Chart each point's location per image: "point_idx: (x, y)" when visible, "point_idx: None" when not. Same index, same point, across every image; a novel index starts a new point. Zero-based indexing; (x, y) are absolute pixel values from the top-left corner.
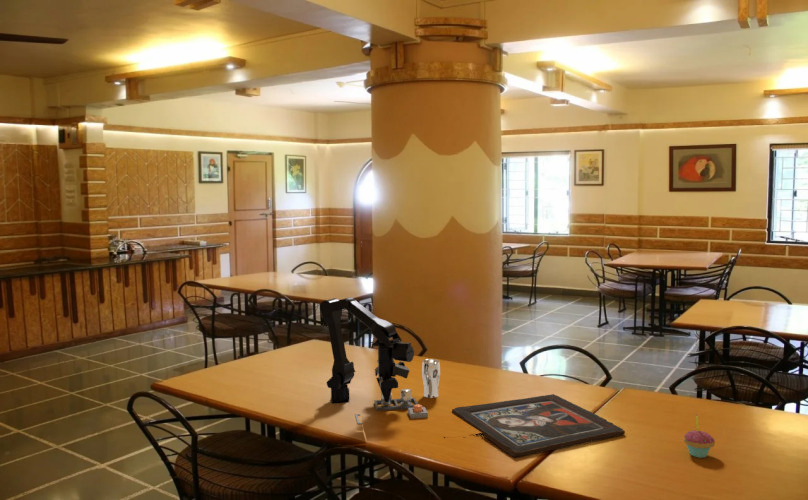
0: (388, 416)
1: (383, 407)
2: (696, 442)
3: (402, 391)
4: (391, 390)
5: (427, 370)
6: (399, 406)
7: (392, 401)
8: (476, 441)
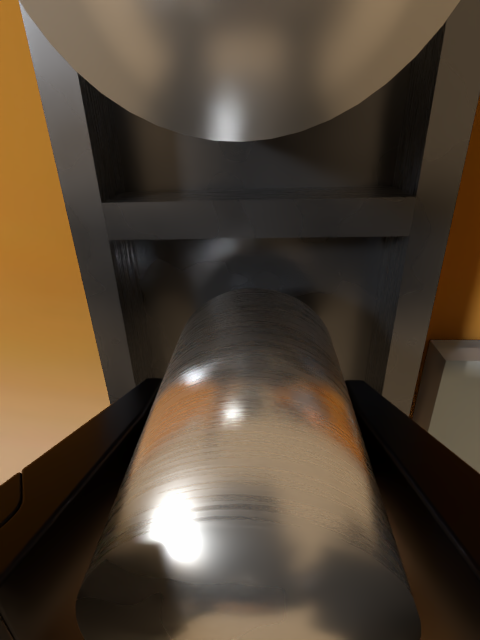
0: (467, 322)
1: (406, 414)
2: None
3: (358, 64)
4: (328, 475)
5: None
6: (458, 187)
7: (121, 254)
8: None
